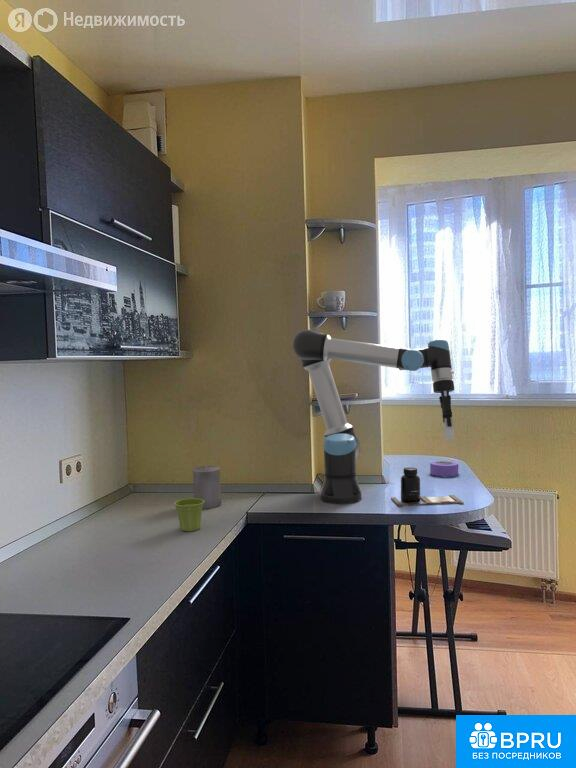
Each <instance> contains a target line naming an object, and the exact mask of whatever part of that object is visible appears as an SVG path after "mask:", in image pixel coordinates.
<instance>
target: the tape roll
mask: <svg viewBox="0 0 576 768" xmlns="http://www.w3.org/2000/svg"><path fill="white" fill-rule="evenodd" d="M429 465H430V466H429V467H430V468H429V469H430V470H429V472H430V473H429V474H430V475H431V474H432V475H431V476H434V475H435V476H434V477H440V476H452V477H456V476H455V475H457V476H458V475H459V462H457V461H451V460H432V461H430V463H429Z"/></svg>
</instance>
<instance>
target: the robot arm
mask: <svg viewBox="0 0 576 768" xmlns="http://www.w3.org/2000/svg"><path fill="white" fill-rule="evenodd" d="M427 344H428V345H427V346H425V347H423V348H406V347H400V346H392V345H386V344H385V345H384V344H378V343H377V344H376V343H370V342H363V341H362V342H361V341H354V340H349V339H347V340H346V339H341V338H333V337H331V336H330V335H329V334H324V333H322V332H321V331H319V330H315V329H303V330H301V331H299V332H297V333H296V334H295V335H294V337H293V340H292V346H291V347H292V351H293V353H294V354H295V355H296V357H298V358H299V359H300V362H301V365H302V368H303V369H304V370H305V371H307V372H308V374H309V378H310V380H311V385H312V387H313V390H314V393H315V397H316V399H317V402H318V406H319V409H320V413H321V416H322V418H323V419H322V420H323V422H324V425H325V429H326V430H325V432H324V434H323V435H324V440H323V446H322V447H323V456H324V457H323V459H324V460H323V462H324V463H323V464H324V480H323V483H322V486H321V490H320V500H321V501H322V502H325V503H328V504H335V505H338V504H342V505H343V504H353V503H358V502H360V501H361V500H362V499H363V498H362V497H363V496H362V490H361V487H360V485H359V482H358V479H357V458H358V457H359V455H360V452H361V443H360V440H359V438H358V437H357V435H356V432H355V429H354V426H353V425H352V424H351V423H349V422H348V420H347V417H346V414H345V411H344V407H343V405H342V401H341V397H340V393H339V392H338V388H337V386H336V385H337V384H336V382H335V379H334V375H333V373H332V370H331V366H330V363H331V361H333V360H336V361H343V362H350V363H351V362H352V363H357V364H358V363H359V364H366V365H373V366H378V367H379V366H380V367H386V368H394V369H398V370H399V371H410V372H411V371H412V372H415V371H418V370H419V369H424V368H425V369H427V368H430V371H431V372H430V373H431V381H432V388H433V393H435V394H440V396H439V398H438V399H439V403H440V404H439V405H440V408H441V411H442V412H441V413H442V423H443V430H444V439H445V441H452V440H453V441H454V437H455V429H454V421H453V419H454V418H453V412H452V411H453V410H452V406H451V405H452V402H451V400H452V397H451V395H450V393H451V392H454V391H455V385H454V384H455V383H454V380H453V378H454V375H453V374H455V372H454V370H452V369H453V367H452V360H451V358H452V357H451V351H450V347H449V342H448V341H447V340H446V339H439V338H438V339H435V340H434V339H433V340H431V341H429V342H428V343H427Z"/></svg>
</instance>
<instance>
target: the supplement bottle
mask: <svg viewBox="0 0 576 768" xmlns="http://www.w3.org/2000/svg"><path fill="white" fill-rule="evenodd" d="M402 474H403V475H401V477H400V502H401V503H403V504H405V503H410V502H419V503H421V502H420V501H421V499H420V496H421V478H420V476H418V468H417V467H412V466H411V467H410V466H409V467H404V468H403V473H402Z"/></svg>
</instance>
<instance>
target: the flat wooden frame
mask: <svg viewBox="0 0 576 768" xmlns="http://www.w3.org/2000/svg"><path fill="white" fill-rule="evenodd" d="M391 500H392V502H393V503H394V504H395V505H396V506H397V507H398V508H403V507H410V506H411V507H412V506H413V507H414V506H431V505H432V506H434V505H435V506H436V505H437V506H438V505H454V504H457V505H464V504H465V503H464V501H463V500H461V499H459V498H458V497H457V496H456V495H454V494H449V495H447V496H446V495H445V496H425V495H420V500H421V501H423V502H410V503H402V502H401V501H400V500H399V499H398V498H397V497H393V496H392V497H391ZM407 505H408V506H407Z"/></svg>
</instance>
